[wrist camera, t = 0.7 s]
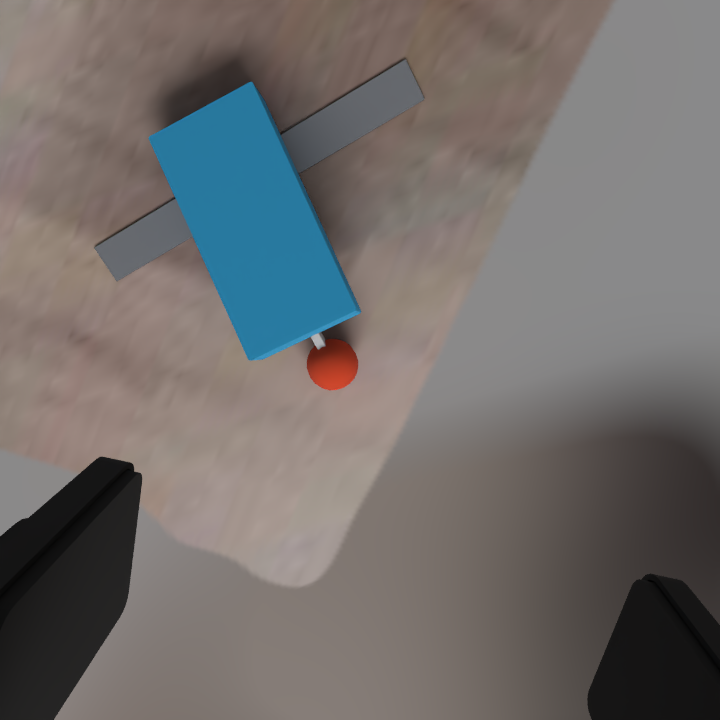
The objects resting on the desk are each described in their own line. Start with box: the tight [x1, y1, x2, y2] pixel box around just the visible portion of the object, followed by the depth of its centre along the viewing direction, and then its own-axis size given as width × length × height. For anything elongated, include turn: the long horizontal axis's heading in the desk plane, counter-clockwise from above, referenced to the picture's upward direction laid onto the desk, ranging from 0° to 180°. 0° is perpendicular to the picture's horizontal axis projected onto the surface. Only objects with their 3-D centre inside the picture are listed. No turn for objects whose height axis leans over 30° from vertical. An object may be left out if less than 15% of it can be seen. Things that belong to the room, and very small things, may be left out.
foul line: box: [95, 59, 424, 281], centre depth 35 cm, size 23×2×1 cm, turn 119°
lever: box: [149, 82, 361, 390], centre depth 35 cm, size 7×7×18 cm
